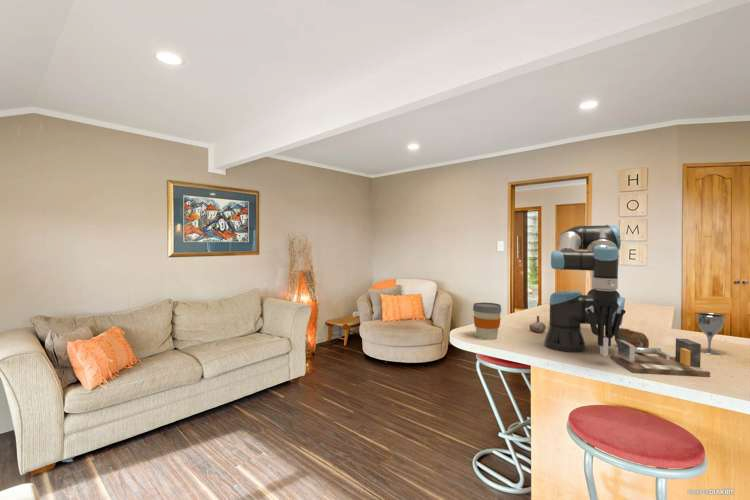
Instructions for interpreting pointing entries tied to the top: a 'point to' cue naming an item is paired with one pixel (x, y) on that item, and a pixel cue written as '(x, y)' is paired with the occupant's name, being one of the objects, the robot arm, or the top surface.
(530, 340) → the top surface
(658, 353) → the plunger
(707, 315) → the wine glass
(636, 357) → the gauge bench
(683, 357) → the pointer
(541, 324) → the garlic bulb
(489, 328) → the reusable coffee cup
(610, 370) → the top surface
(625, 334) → the brown oval slab
